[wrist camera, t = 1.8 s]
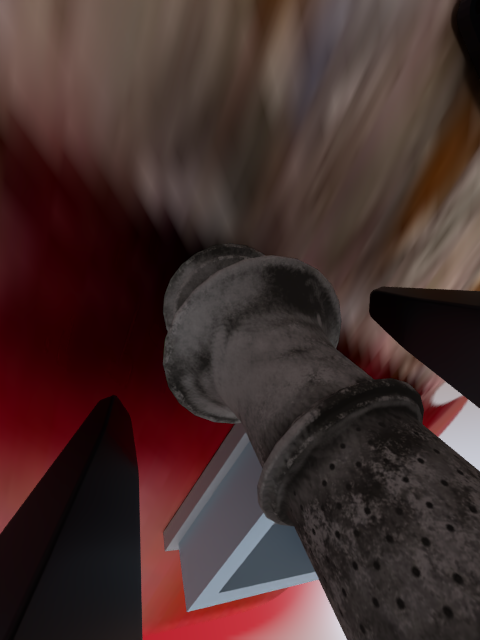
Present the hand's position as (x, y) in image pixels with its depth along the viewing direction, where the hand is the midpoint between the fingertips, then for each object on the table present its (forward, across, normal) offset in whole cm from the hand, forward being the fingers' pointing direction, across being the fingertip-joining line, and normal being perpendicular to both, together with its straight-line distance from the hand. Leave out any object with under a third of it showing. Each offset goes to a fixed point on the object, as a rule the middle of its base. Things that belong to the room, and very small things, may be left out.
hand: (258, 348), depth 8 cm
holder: (+3, -1, +13) cm, 14 cm away
